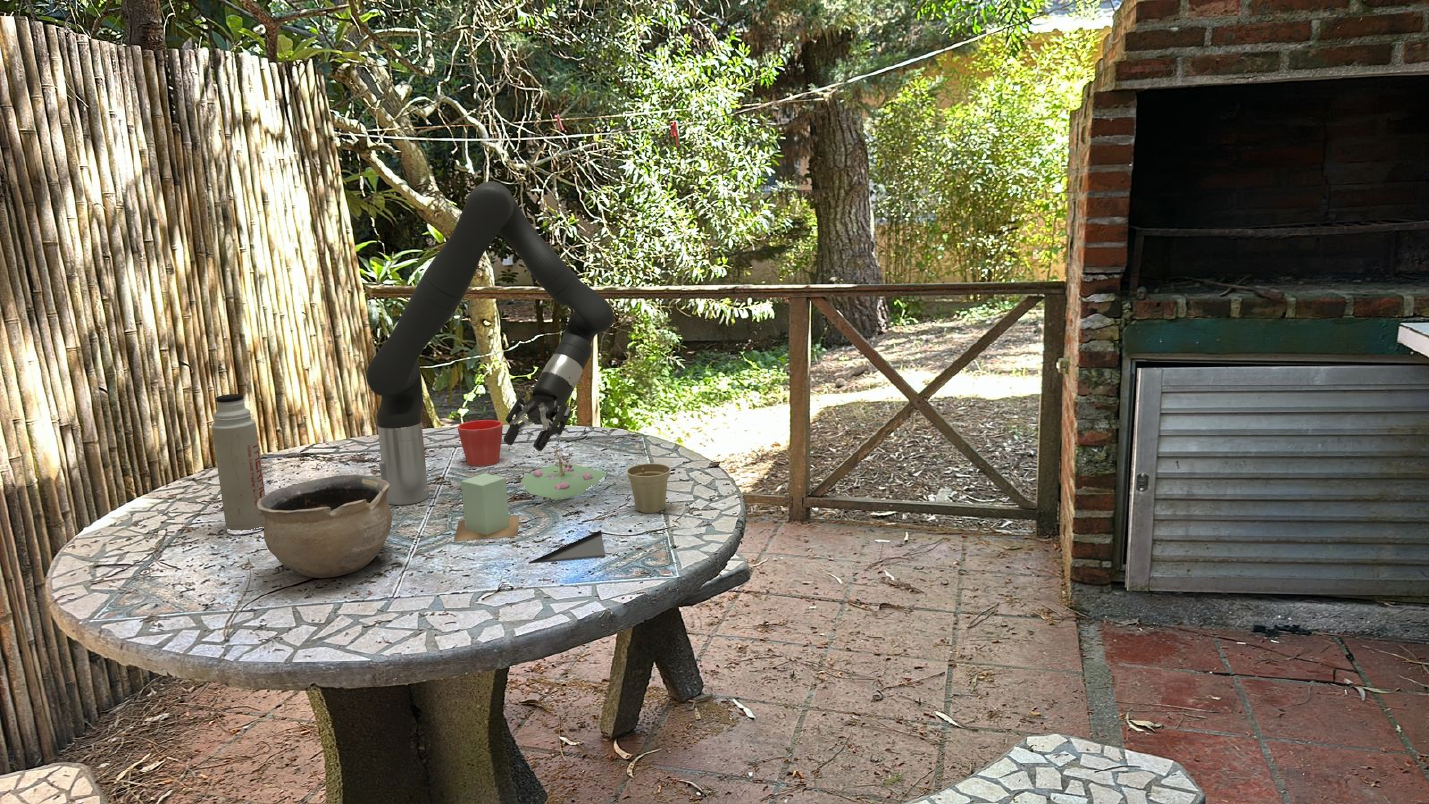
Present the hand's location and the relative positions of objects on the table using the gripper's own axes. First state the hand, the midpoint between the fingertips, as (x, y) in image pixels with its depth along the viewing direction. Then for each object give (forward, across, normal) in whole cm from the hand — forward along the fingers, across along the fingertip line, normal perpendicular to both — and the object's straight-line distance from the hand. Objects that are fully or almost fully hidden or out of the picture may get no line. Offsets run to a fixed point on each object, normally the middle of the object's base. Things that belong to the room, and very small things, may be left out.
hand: (521, 446), depth 199 cm
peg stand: (+19, 0, +4) cm, 19 cm away
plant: (-4, -11, +27) cm, 30 cm away
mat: (+16, +18, +6) cm, 25 cm away
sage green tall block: (+18, 0, +2) cm, 18 cm away
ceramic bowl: (+38, -11, -15) cm, 42 cm away
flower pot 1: (-6, -41, +29) cm, 50 cm away
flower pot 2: (-2, +18, +24) cm, 30 cm away
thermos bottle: (+35, -46, -13) cm, 59 cm away
